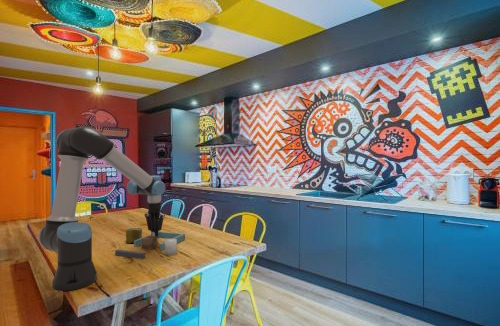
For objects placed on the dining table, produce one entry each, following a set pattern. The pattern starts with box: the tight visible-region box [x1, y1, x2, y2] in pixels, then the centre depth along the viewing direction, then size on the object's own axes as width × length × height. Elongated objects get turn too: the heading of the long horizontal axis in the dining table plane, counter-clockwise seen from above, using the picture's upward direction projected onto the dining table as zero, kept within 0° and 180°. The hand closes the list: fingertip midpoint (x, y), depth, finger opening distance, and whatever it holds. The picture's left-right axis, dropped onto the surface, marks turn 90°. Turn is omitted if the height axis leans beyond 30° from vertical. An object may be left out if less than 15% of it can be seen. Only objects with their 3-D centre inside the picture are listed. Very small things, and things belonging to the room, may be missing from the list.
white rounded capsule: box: [164, 238, 178, 256], centre depth 143 cm, size 6×6×7 cm
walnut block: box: [141, 235, 158, 251], centre depth 152 cm, size 6×6×6 cm
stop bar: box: [114, 249, 146, 260], centre depth 139 cm, size 2×18×2 cm, turn 70°
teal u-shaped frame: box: [133, 231, 186, 251], centre depth 161 cm, size 22×19×4 cm
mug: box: [125, 227, 143, 244], centre depth 166 cm, size 12×10×10 cm
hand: (154, 242), depth 156 cm, fingers closed
